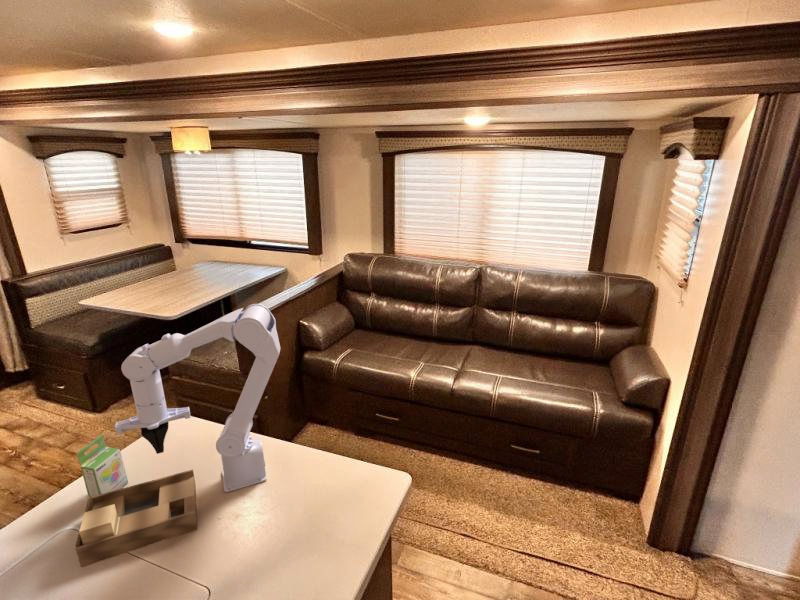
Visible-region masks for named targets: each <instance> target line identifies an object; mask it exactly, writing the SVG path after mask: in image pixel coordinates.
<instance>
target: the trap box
mask: <svg viewBox="0 0 800 600" xmlns="http://www.w3.org/2000/svg"><path fill="white" fill-rule="evenodd" d="M194 474H195V473H194V469H190V470H185V471H181V472H178V473H174V474H171V475H167V476H163V477H160V478H156V479H151V480H149V481H145V482H141V483H138V484H132V485H131V486H126V487H122V488H121V489H119V490H115V491H111V492H108V493H104V494H100V495H97V496H93V497H92V496H91V497H88V499H87V502H86V506H85V510H84V513H85V512H88V511H92V510H95V509H99V508H102V507H106V506H109V505H113V504H115V508H116V512H117V515H118V519H119V520H118V525H117V531H116V535H114V536H111V537H108V538H105V539H101V540H98V541H95V542H92V543H88V544H85V545H83V543H82V539H81V536H80V533H79V532H78V535H77V540H76V541H75V549H74V550H75V552H76V555H77V558H78V562H79V565H80V568H84V567H86V566H89V565H93V564H96V563H98V562H102V561H104V560H107V559H111V558H114V557H117V556H119V555H122V554H126V553H129V552H133V551H135V550H139V549H141V548H144V547H148V546H151V545H153V544H156V543H161V542H162V541H165V540H170V539H171V538H175V537H178V536H181V535H184V534H186V533H190V532H194V531H196V530H198V519H197V518H198V515H197V514H198V513H197V511H198V510H197V490H196V489H197V488H196V487H197V485H196V480H195V479H196V478H195V475H194Z"/></svg>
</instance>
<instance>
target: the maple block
mask: <svg viewBox="0 0 800 600" xmlns="http://www.w3.org/2000/svg"><path fill="white" fill-rule="evenodd" d="M118 520H119V519H118V515H117V512H116V508H115V504H113V505H109V506H106V507H102V508H99V509H95V510H92V511H88V512H85V511H84V514H83V517H82V520H81V521H82V522H81V524H80V528H79V532H78V534H79V533H80V536H81V539H82V543H83V545H85V544H88V543H92V542H95V541H98V540H101V539H105V538H108V537H111V536H114V535H116V531H117V525H118Z"/></svg>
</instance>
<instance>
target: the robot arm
mask: <svg viewBox="0 0 800 600" xmlns="http://www.w3.org/2000/svg"><path fill="white" fill-rule="evenodd" d="M222 338H224V339H226V340H228V341H230V342H233V343H234V342H235V341H238V342H239V344H241V345H243V346H244V347H245V348H246V349H248V350H249V351H250V352H251V353H252V354H253V355H254V357H255V359H254V361H253V364H252V366H251V369H250V371H249V373H248V377H247V379H246V381H245V384H244V385H243V388H242V391H241V393H240V396H239V398H238V401H237V402H236V405H235V408H234V411H233V412H232V413H230V415H229V416H228V417H227V418H226V420H225V423H224V426H223V429H222V431H221V433H220V434H219V437H218V438H217V440H216V442H215V449H216V451H217V453H218V454H219V455H220V456H221V462H222V470H221V474H222V483H223V491H224V493H229V492H234V491H237V490H239V489H243V488H246V487H249V486H253V485H256V484H259V483H262V482H265V481H267V475H266V474H267V472H266V460H265V456H264V449H263V445H262V440H261V438H260V439H259V438H258V439H253V438H252V436H251V434H250V432H251V430H252V428H253V427H254V425H253V424H254V422H253V417H254V416H255V413H256V411H257V409H258V406H259V404H260V401H261V399H262V396H263V394H264V392H265V390H266V387H267V385H268V383H269V380H270V378H271V376H272V373H273V371H274V368H275V365H276V363H277V361H278V359H279V356H280V354H281V353H280V352H281V344H280V339H279V334H278V331H277V323H276V318H275V317H274V314H273V313H272V312H271V310H270V309H269V308H268V307H267V306H265V305H264V304H261V303H252V304H250V305H249V304H248V306H247V307H245V308H244V307H241V308H238V309H236V310H234V311H232V312H229V313H227V314H224V315H223V316H220V317H219V318H217V319H215V320H213V321H212V322H210V323H207V324H205V325H203V326H201V327H199V328H197V329H195V330H194V331H191V332H189V333H187V334H182V333H178V332H176V333H173V334H171V333H166V334H164V335H162V337H161V339H160V340H158V341H155V342H153V343H151V344H149V343H146V344H144V345H142V346H139V347H137V348H136V349H134V351H133V352H132V353H131V354H129V355H128V356H127V357H126V358H125V360H124V361H122V364H121V366H120V367H121V368H120V369H121V372H122V375H123V376H124V377H125V378H126V379H128V380H129V382H130V387H131V392H132V396H133V400H134V406H135V409H136V414H137V415H135V416H133V417H130V418H127V419H125V420H120V421H117V422H115V424H114V429H115V435H121V434H123V432H128V431H133V430H136V429H140V431H141V432H140V434H141V436H142V438H144V439H145V440H147V441H148V442H149V444H150V445H151V446H152V447H153V449H154V450H155V454H157V455H158V454H162V453H164V452H165V450H164V449H165V446H164V444H165V439H166V436H167V433H168V430H169V422H171V421H175V420H180V419H187V420H188V419H190V418H191V410H190V406H186V407H176V408H175V407H174V408H171V407H170V408H167V407H168V406H167V401H166V396H165V390H164V387H163V381H162V375H161V372H160V370H162V369H164V368H167V367H169V366H171V365H173V364H176V363H177V362H180V361H182V360H184V359H186V358H188V357H190V355H191V353H192V350H193V349H196V348H198V347H200V346H203V345H206V344H209V343H211V342H213V341H216V340H218V339H222Z"/></svg>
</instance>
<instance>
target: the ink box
mask: <svg viewBox="0 0 800 600" xmlns="http://www.w3.org/2000/svg"><path fill="white" fill-rule="evenodd" d="M105 443H106V441H105V438H104V434H103V433H102V434H101V435H99V436H98V437H97V438H95V439H94V440H92V441H91V442H90V443H88V444H87V445H86V446H84V447H83V448H81V449H80V450H79V451H77V452H76V455H77V459H78V462H79V466H80V470H81V474H82V477H83V482H84V485H85V488H86V492H87V497H88V498H89V497H91V496H92V497H93V496H97V495H100V494H104V493H108V492H111V491H115V490H119V489H122V488H124V487H125V486H126V485H127V484H128V483H129V480H128V475H127V472H126V468H125V464H124V460H123V455H122V452H121V449H120V448H116V447H110V446H107V445H106V444H105ZM94 445H97V446H96V447H95V448H93V449H92V450H91V451H89V452H88V453H87V451H88V450H89V449H90V448H92V447H93V446H94ZM86 453H87V454H86ZM85 454H86V455H85Z"/></svg>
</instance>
